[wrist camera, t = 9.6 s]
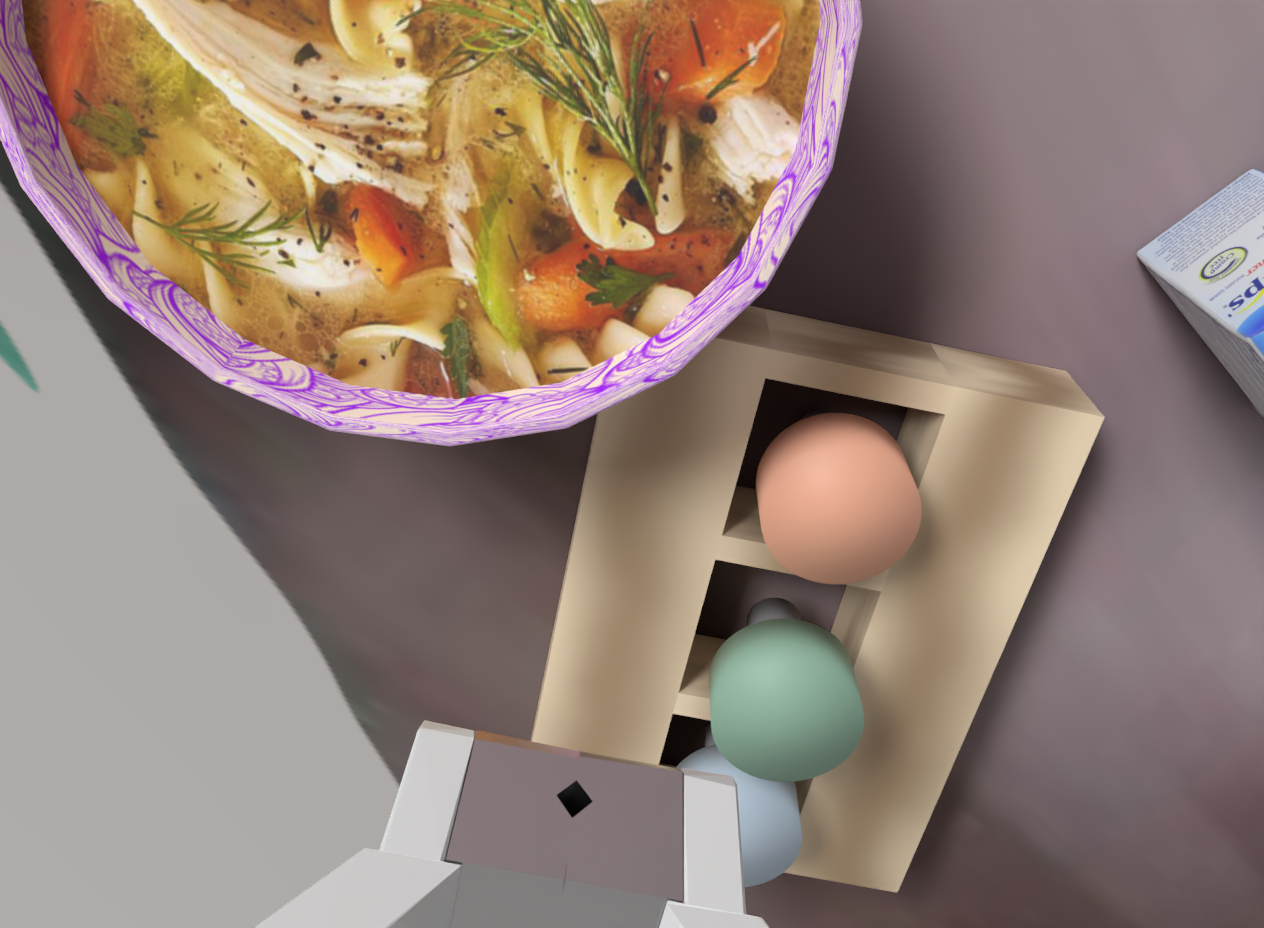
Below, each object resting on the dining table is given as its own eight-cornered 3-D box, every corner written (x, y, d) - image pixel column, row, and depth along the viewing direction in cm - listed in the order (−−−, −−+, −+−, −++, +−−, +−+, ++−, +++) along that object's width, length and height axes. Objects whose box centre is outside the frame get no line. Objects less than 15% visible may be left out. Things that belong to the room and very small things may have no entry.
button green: (857, 577, 40) (883, 677, 35) (820, 684, 43) (839, 793, 37) (724, 552, 40) (731, 648, 35) (694, 660, 42) (695, 767, 37)
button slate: (802, 697, 45) (818, 801, 40) (771, 787, 47) (782, 897, 42) (682, 674, 45) (683, 776, 40) (657, 767, 47) (654, 874, 42)
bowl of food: (202, -512, 29) (-62, -745, 19) (911, -263, 31) (1026, -348, 21) (138, 210, 38) (-65, 323, 28) (693, 371, 40) (697, 534, 29)
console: (1065, 371, 39) (1104, 417, 36) (881, 821, 49) (897, 892, 45) (624, 280, 38) (618, 318, 35) (527, 756, 48) (515, 824, 45)
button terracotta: (907, 387, 39) (943, 463, 34) (866, 508, 41) (893, 597, 36) (769, 359, 39) (783, 430, 33) (735, 483, 41) (743, 568, 35)
